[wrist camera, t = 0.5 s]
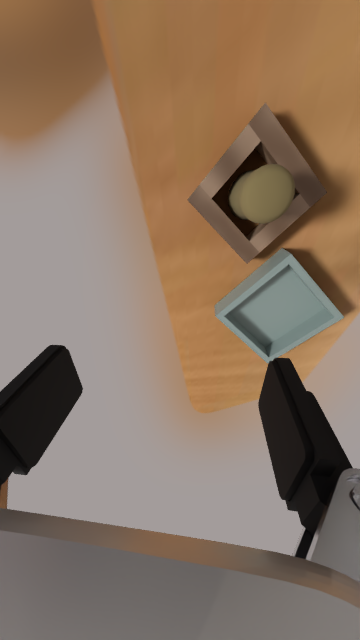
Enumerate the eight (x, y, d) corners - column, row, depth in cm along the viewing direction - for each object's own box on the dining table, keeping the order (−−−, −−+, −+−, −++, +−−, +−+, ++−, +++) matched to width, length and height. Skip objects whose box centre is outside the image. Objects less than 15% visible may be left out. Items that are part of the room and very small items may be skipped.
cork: (275, 211, 30) (307, 216, 20) (233, 226, 31) (244, 238, 22) (268, 161, 27) (302, 141, 18) (222, 181, 29) (231, 172, 19)
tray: (282, 247, 32) (291, 253, 29) (330, 305, 36) (344, 317, 32) (214, 305, 38) (215, 316, 35) (262, 349, 42) (267, 363, 38)
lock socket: (258, 114, 25) (265, 102, 22) (314, 193, 28) (327, 192, 25) (189, 199, 30) (187, 199, 27) (243, 257, 33) (247, 263, 30)
